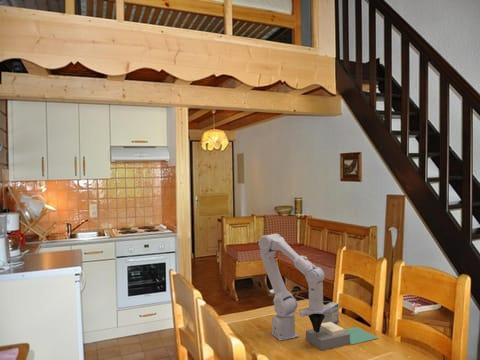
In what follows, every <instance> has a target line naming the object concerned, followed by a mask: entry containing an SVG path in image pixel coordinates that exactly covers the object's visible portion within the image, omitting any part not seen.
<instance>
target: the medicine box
mask: <svg viewBox="0 0 480 360" xmlns="http://www.w3.org/2000/svg"><path fill="white" fill-rule="evenodd" d="M324 306H331V307H332V312H324V313H323V314H324V315H325V318H324V319H323V323H327V322H332V323H334V324H336V325H337V323H338V322H340V320H339V319H340V318H339V317H340V315H339V314H340V313H339V310H340V309H339V308H340V307H339V303H337V302H332V301H330V302H328V303H327V304H325V305H324Z"/></svg>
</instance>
